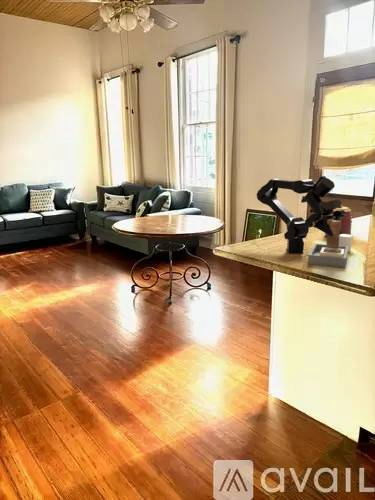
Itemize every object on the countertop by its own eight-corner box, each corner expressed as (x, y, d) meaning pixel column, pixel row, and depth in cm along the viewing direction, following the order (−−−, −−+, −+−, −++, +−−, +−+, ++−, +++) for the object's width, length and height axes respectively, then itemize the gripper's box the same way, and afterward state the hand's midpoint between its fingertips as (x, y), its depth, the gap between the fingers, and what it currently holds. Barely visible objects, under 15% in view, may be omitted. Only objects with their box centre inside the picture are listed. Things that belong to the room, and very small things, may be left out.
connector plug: (331, 252, 147) (334, 222, 144) (323, 249, 151) (326, 220, 148) (340, 251, 149) (343, 221, 145) (333, 248, 153) (335, 219, 150)
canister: (331, 232, 205) (334, 200, 200) (355, 236, 196) (358, 202, 191) (319, 236, 197) (322, 203, 192) (343, 240, 187) (346, 205, 183)
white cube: (341, 252, 165) (342, 237, 164) (332, 248, 172) (334, 234, 170) (355, 251, 167) (356, 236, 165) (346, 247, 173) (347, 233, 171)
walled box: (307, 264, 150) (308, 252, 148) (314, 252, 167) (314, 241, 166) (345, 268, 144) (346, 255, 142) (347, 255, 161) (348, 244, 160)
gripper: (312, 193, 143) (333, 226, 136) (344, 190, 152) (365, 220, 145) (296, 211, 151) (315, 242, 145) (327, 206, 160) (346, 236, 154)
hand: (336, 235), depth 147 cm, fingers closed on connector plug, 5 cm apart
